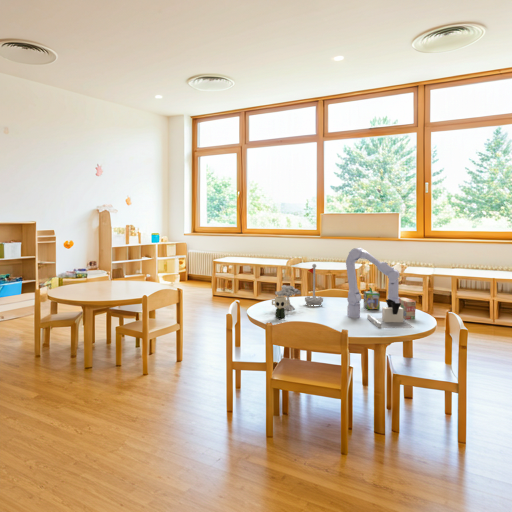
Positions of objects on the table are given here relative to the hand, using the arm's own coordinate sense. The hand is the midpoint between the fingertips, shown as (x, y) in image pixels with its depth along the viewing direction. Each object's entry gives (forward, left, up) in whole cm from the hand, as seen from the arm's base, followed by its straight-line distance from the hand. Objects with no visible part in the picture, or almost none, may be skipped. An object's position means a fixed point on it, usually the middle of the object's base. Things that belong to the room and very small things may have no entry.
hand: (392, 312), depth 243 cm
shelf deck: (+4, -3, -6) cm, 8 cm away
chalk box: (-40, -1, -6) cm, 41 cm away
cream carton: (0, 0, -5) cm, 5 cm away
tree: (-39, -59, -6) cm, 71 cm away
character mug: (-14, -66, -6) cm, 68 cm away
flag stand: (-53, -39, -6) cm, 66 cm away
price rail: (+4, -12, -5) cm, 14 cm away
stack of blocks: (-15, +11, -7) cm, 20 cm away
